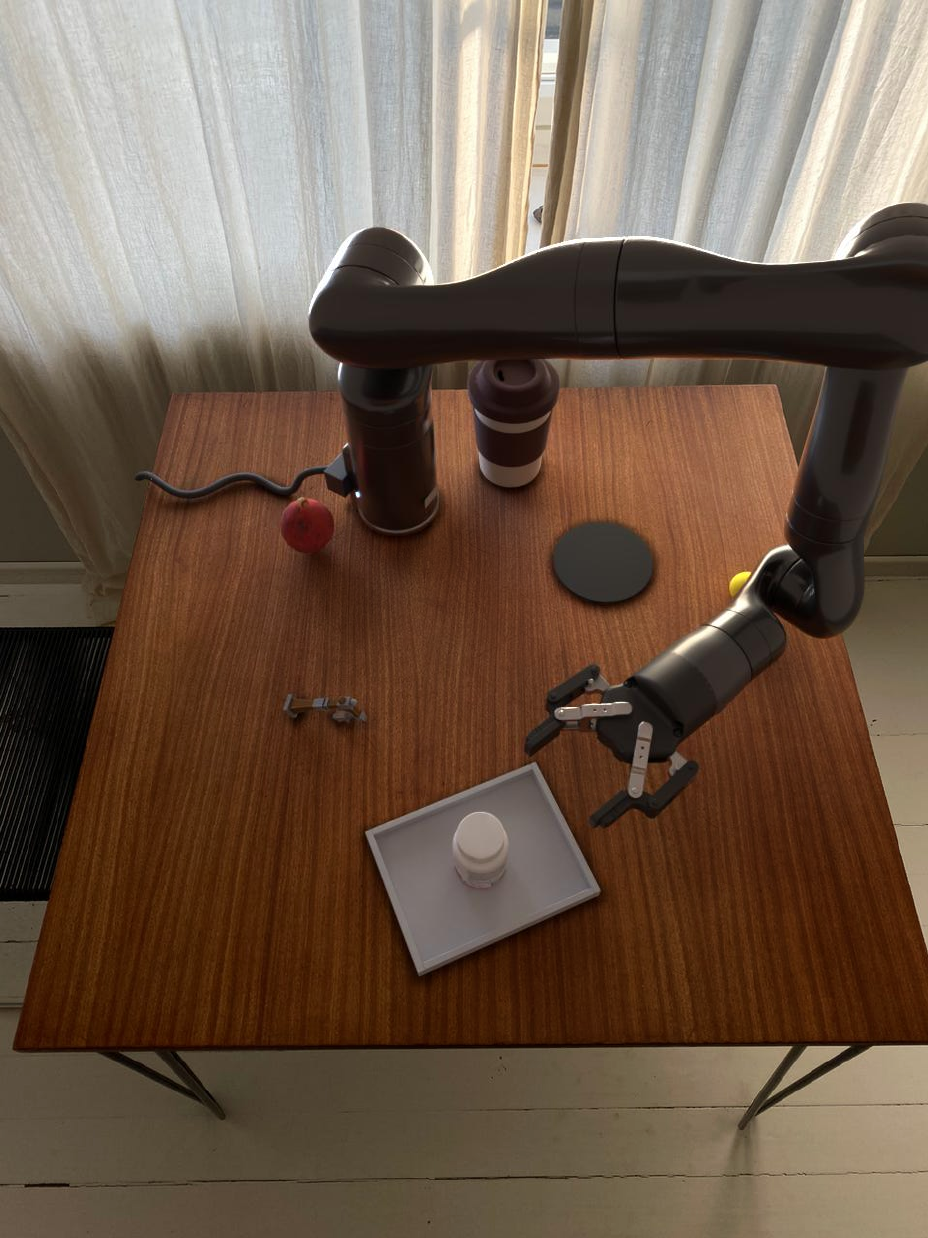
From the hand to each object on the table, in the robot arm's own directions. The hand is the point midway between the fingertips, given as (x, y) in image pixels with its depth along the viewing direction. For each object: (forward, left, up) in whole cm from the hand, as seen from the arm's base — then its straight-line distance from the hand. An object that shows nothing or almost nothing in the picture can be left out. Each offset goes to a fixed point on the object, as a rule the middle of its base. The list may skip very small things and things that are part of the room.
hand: (558, 786), depth 76 cm
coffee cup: (-25, +35, -7) cm, 44 cm away
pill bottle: (-3, -8, -6) cm, 11 cm away
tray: (-3, -8, -6) cm, 11 cm away
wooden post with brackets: (-24, -3, -7) cm, 25 cm away
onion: (-38, +13, -7) cm, 41 cm away
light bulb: (+7, +31, -6) cm, 32 cm away
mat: (-9, +28, -6) cm, 30 cm away
